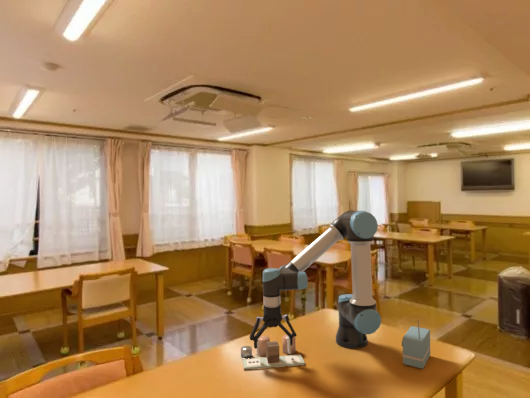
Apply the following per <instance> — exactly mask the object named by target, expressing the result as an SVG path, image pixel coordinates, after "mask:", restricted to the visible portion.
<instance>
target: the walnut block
mask: <svg viewBox="0 0 530 398" xmlns="http://www.w3.org/2000/svg"><path fill="white" fill-rule="evenodd" d="M279 356H280V345H279V342H278V340H275V341H270V342H266V356H265V357H266V358H267V361H268V363H278V362H280V357H279Z"/></svg>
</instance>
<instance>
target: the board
mask: <svg viewBox="0 0 530 398" xmlns="http://www.w3.org/2000/svg"><path fill="white" fill-rule="evenodd" d="M279 357H280V362H278V363H268V361H267V358H266V356H265V357H252V358H249V359H242V367H244V368H243V370H244V369H252V370H259V369H258V368H264V369H271V368H270V367H276V368H284V367H285V366H288V367H296V366H297V367H299V365H300V366H306V364H305V363H306V362H305V360H304V358H303V357H302V354H291V355H288V354H286V355H279ZM285 368H286V367H285Z"/></svg>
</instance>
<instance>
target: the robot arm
mask: <svg viewBox="0 0 530 398" xmlns="http://www.w3.org/2000/svg"><path fill="white" fill-rule="evenodd" d="M378 226H379V225H378V221H377V219H376V217H375V216H374V215H373V214H372V213H370V212H369V211H366V210H352V209H350V210H347V211H345V212H343V213H342V214H339V216H338V217H337V218H336V219H334V221H332V222H331V223H330V224H329V225H328V228H327V229H326V230H325V231H324V232H323V233H322V234H320V235H319V236H318V237H317V238H316V239H315V240H313V241H312V242H311V243H310V244H308V246H307V247H305V249H303V250H302V251H301V252H299V254H298V255H296V256H295V257H294V258H293V259H291V261H289V262H288V263H286V264H284V265H281V266H280V267H279V268H275V267H273V268H272V267H270V268H266V269H265V268H264V270H263V271H262V279H261V280H262V297H263V301H262V303H263V306H262V307H263V308H262V309H263V316H261V317H260V316H259V315H257V316H256V319H255V320H256V321H255V323H254V325H253V328H252V330H251V332H250V334H249V340H250V341H253V347H254V349H256V358H260V356H259V341H258V338H259V337H260V336H262V335H263V333H264V332H265V330H267V329H268V328H270V329H271V328H273V327H274V328H277V327H279V328H280V329H281V331H283V332H284V333H285V334H287V335H288V337H287V347H288V353H289V354H291V353H290V345H292V344H293V342H292V339H293V337H294V336H295V338H296V337H297V336H298V335H297V333H296V332H295V329H294V327H293V325H292V323H291V321H290V319H289V315H288V314H287V313H285V314H284V315H282V308H281V307H282V306H281V304H282V303H281V300H282V299H281V291H296V290H299V291H301V290H305V289H307V287H308V285H309V284H308V283H309V282H308V281H309V279H308V275H307V273H306V272H305V271H306V270H307V269H308V268H309V267H310V266H311V265H313V264H314V263H315V262H317V260H318V259H320V258H321V257H322V256H323V255H324V254H325V253H326V252H328V250H330V249H331V248H332V247H333V246H335V245H336V244H337V243H338V242H339V241H343V240H344V239H345V238H346V241H347V243H348V244H350V261H351V264H350V265H351V283H352V284H351V287H352V288H351V289H352V293H347V294H346V293H345V294H341V295H339V296H338V302H337V303H338V304H337V305H338V328H337V330H336V334H335V342H336V344H337V345H339V346H341V347H344V348H346V349H347V348H348V349H362V348H364V347H367V345H368V343H369V342H368V336H367V335H371V334H373V333H376V331H377V330H378V329H380V327H381V325H382V317H381V315H380V313H379V312H378V311H377V301H376V300H375V299H374V298H373V284H372V283H373V282H372V281H373V279H372V277H373V276H372V275H373V274H372V256H371V253H372V251H371V249H372V248H371V244H373V242H374V240H375V239H374V238H375V237H374V236H375V235H376V233H377V232H378V228H379V227H378ZM282 320H283V321H285V322H286V324H287V326H288V327H289V330H290V331H291V332H290V331H289V330H288V329H287V327H285V326H284V324H283V323H282ZM262 322H263V323H262ZM260 323H262V326H261V327H260V329H259V330H258V328H259V326H260ZM257 330H258V331H257ZM291 355H292V354H291Z"/></svg>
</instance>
